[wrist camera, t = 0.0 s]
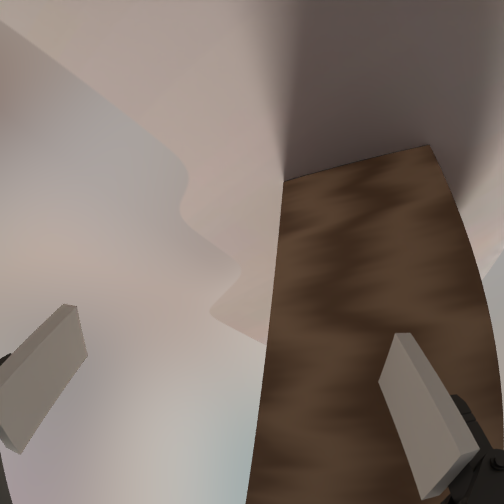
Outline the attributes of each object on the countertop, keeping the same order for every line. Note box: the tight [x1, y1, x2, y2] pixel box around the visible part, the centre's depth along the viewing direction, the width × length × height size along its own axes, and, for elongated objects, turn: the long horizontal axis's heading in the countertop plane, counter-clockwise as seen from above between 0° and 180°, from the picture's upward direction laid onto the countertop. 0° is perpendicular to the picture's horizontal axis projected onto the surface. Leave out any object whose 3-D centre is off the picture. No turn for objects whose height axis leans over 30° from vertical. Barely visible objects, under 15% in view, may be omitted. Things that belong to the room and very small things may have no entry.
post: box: [246, 145, 504, 504], centre depth 18 cm, size 14×14×30 cm
